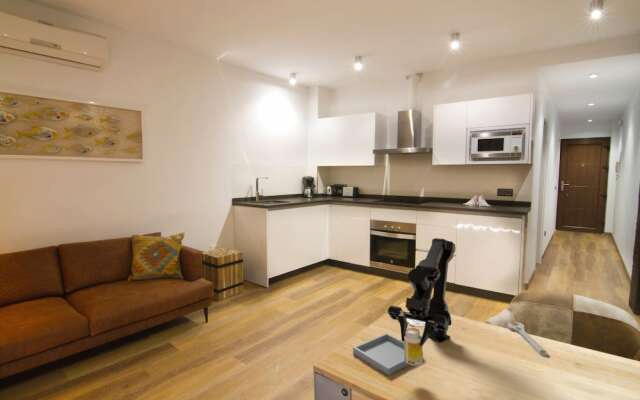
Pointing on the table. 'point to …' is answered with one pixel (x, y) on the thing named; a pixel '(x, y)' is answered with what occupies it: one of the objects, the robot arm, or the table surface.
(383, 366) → the tray
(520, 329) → the adjustable wrench
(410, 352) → the supplement bottle
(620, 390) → the table surface
